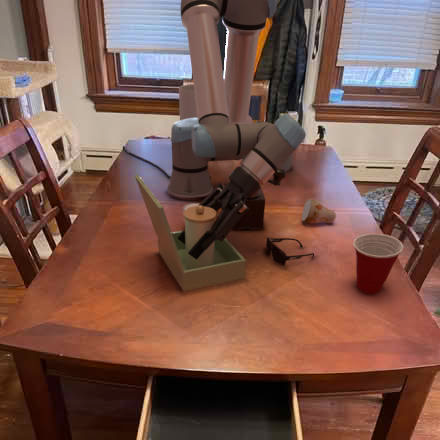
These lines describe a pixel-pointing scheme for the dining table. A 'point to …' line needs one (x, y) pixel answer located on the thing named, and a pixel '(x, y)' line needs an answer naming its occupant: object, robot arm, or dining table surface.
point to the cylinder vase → (187, 102)
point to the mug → (317, 213)
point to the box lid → (159, 221)
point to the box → (209, 275)
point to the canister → (198, 234)
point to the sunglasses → (278, 253)
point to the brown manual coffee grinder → (257, 206)
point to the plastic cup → (375, 260)
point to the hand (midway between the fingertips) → (186, 248)
